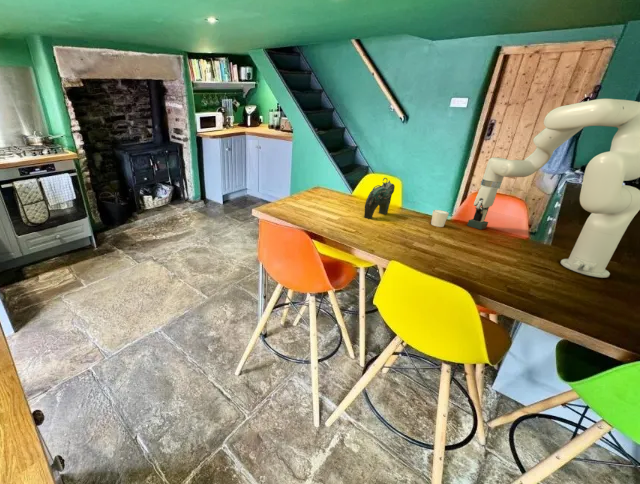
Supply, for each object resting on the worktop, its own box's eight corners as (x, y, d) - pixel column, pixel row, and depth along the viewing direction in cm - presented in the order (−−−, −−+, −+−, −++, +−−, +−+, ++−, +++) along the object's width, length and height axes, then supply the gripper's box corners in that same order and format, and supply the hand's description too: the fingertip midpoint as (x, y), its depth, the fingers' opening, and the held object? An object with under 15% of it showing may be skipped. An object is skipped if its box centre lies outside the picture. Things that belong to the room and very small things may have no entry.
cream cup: (445, 224, 151) (449, 211, 148) (445, 228, 145) (449, 214, 143) (430, 221, 154) (433, 208, 152) (429, 225, 149) (432, 211, 146)
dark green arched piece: (381, 211, 167) (388, 175, 160) (392, 214, 162) (400, 177, 155) (360, 216, 155) (367, 178, 148) (371, 220, 151) (379, 181, 144)
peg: (480, 222, 148) (484, 211, 145) (472, 220, 150) (476, 209, 148) (483, 221, 149) (487, 210, 147) (476, 219, 152) (479, 208, 150)
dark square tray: (480, 229, 147) (482, 224, 146) (467, 225, 152) (468, 220, 150) (486, 227, 150) (488, 222, 149) (472, 223, 155) (474, 218, 154)
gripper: (489, 181, 150) (477, 215, 157) (474, 183, 142) (462, 220, 148) (507, 184, 144) (494, 220, 151) (492, 187, 136) (479, 225, 142)
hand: (478, 219), depth 150 cm, fingers closed on peg, 3 cm apart
